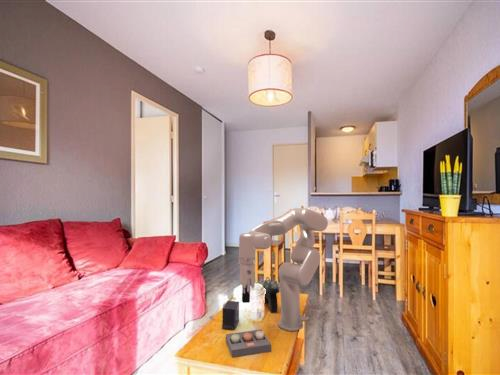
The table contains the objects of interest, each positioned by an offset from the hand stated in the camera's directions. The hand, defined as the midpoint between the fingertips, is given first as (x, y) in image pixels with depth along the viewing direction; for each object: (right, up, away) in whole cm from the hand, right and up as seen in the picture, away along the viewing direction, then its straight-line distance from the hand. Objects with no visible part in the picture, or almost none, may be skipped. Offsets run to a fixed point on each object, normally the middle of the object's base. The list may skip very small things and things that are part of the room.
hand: (245, 301), depth 126 cm
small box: (-8, -19, +17) cm, 27 cm away
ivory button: (+6, -16, -2) cm, 17 cm away
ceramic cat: (+13, -20, +40) cm, 47 cm away
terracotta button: (+1, -16, -3) cm, 16 cm away
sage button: (-4, -16, -5) cm, 17 cm away
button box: (+1, -18, -3) cm, 18 cm away
